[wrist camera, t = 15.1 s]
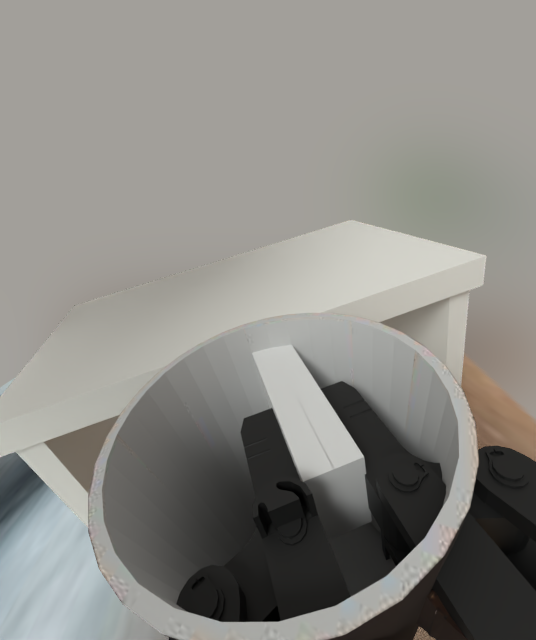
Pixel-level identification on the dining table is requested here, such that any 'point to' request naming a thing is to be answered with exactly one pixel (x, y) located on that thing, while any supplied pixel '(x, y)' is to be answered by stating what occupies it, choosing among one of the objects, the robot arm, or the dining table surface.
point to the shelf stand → (216, 317)
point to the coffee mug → (237, 490)
